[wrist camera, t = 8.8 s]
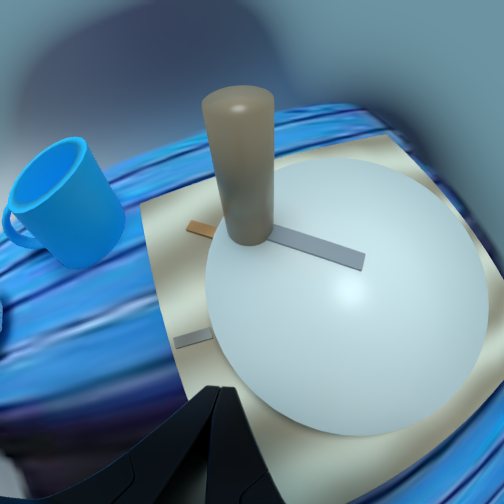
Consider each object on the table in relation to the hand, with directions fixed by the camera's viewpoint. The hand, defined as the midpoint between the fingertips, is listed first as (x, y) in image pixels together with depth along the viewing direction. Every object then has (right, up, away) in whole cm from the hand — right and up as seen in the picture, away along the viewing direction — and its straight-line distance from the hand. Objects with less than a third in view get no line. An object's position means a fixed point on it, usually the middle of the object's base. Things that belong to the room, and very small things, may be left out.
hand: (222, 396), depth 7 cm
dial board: (+8, +2, +12) cm, 14 cm away
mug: (-16, +5, +16) cm, 23 cm away
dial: (+8, +2, +10) cm, 13 cm away
